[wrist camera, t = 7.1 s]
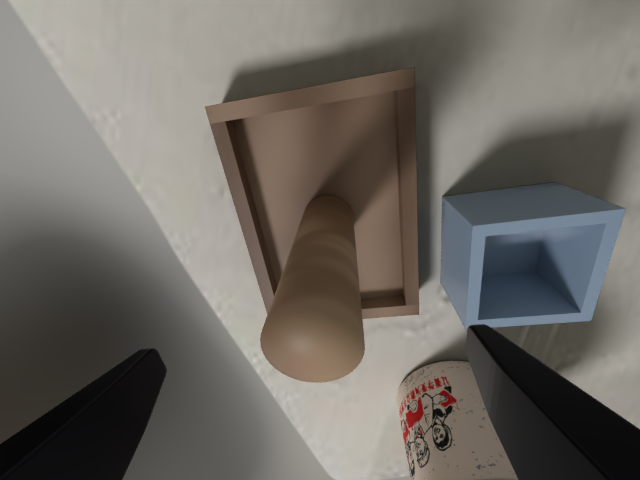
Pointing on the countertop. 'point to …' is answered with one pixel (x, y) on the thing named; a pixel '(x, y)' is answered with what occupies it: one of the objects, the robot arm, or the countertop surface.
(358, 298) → the dowel pin
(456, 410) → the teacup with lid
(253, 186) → the tray
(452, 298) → the holder cup
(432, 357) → the countertop surface
